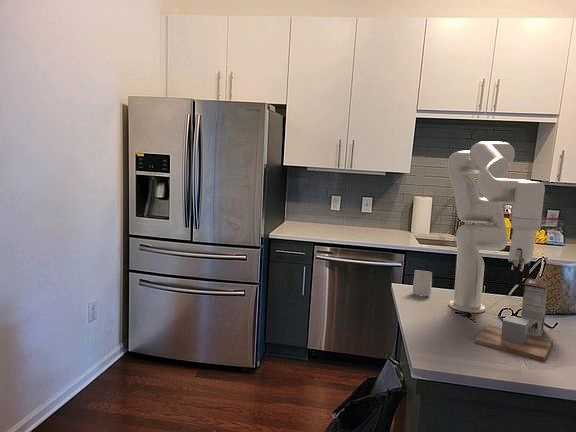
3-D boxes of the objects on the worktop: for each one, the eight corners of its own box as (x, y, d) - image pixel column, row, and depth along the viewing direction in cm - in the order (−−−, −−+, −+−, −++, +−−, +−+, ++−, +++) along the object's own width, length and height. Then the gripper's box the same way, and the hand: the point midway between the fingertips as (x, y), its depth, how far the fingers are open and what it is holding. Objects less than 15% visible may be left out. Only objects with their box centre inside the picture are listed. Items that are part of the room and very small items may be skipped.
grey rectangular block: (429, 297, 172) (431, 273, 171) (412, 294, 175) (414, 270, 174) (430, 295, 175) (432, 271, 174) (414, 292, 178) (415, 269, 177)
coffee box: (522, 324, 145) (526, 277, 143) (544, 328, 141) (549, 281, 139) (518, 332, 137) (523, 283, 135) (541, 337, 134) (546, 287, 132)
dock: (488, 328, 140) (490, 314, 139) (552, 344, 128) (554, 329, 128) (474, 342, 127) (476, 327, 127) (544, 361, 116) (545, 345, 116)
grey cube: (505, 333, 132) (507, 315, 131) (527, 339, 128) (529, 320, 128) (500, 339, 127) (502, 320, 127) (523, 345, 124) (525, 325, 123)
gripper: (517, 219, 133) (511, 273, 135) (504, 225, 119) (498, 284, 122) (545, 222, 128) (538, 277, 130) (535, 228, 115) (528, 289, 117)
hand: (519, 280), depth 126 cm, fingers open, 9 cm apart
